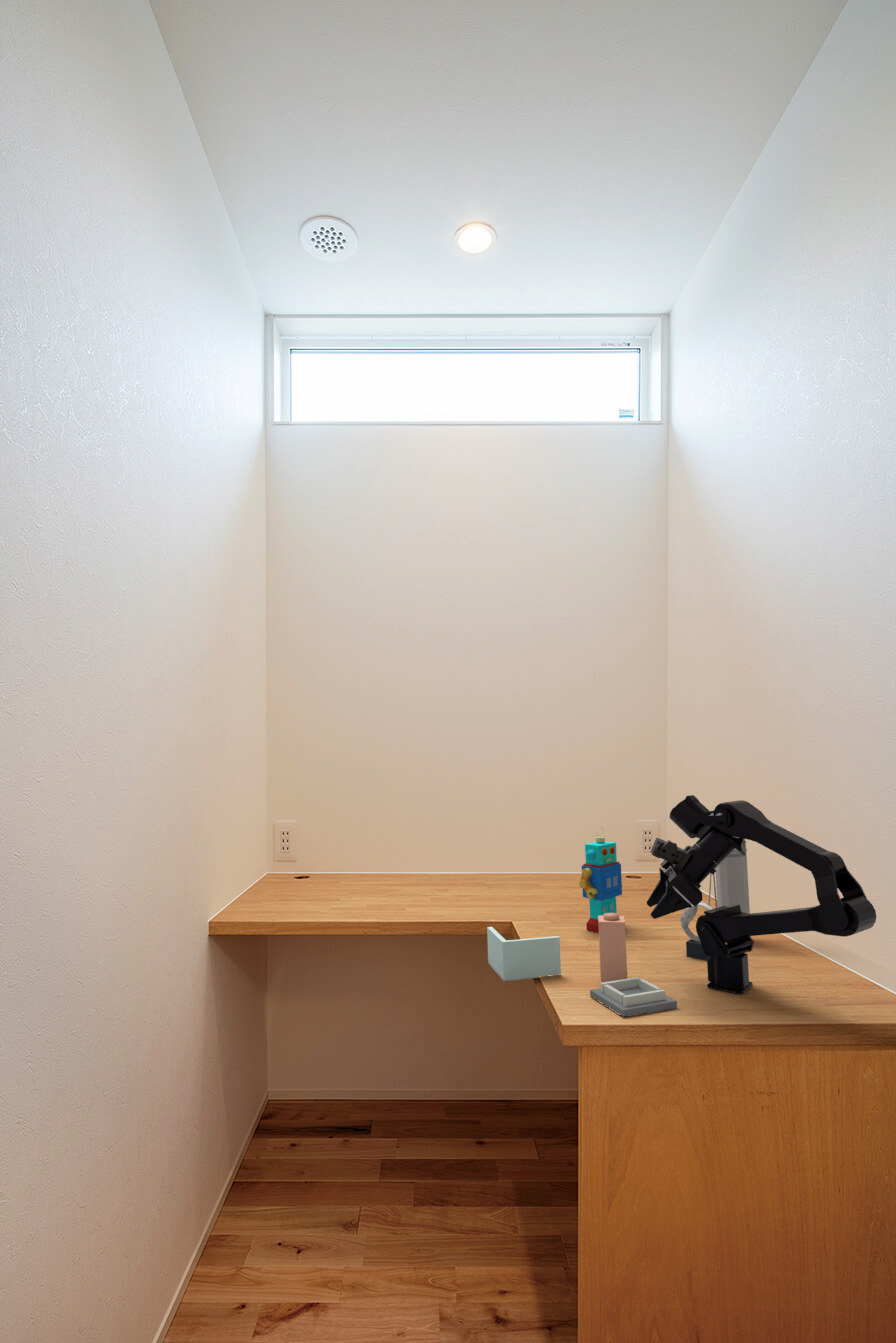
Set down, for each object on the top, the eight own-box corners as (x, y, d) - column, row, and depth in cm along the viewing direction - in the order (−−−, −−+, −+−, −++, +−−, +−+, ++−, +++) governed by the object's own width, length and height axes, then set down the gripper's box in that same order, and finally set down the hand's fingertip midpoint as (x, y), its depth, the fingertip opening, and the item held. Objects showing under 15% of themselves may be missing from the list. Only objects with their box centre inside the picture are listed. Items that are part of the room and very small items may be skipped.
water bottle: (755, 938, 173) (749, 829, 175) (747, 947, 167) (741, 833, 169) (715, 933, 179) (709, 827, 181) (705, 941, 172) (700, 831, 174)
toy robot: (600, 936, 179) (596, 829, 181) (580, 931, 183) (576, 827, 185) (629, 927, 186) (624, 824, 188) (609, 922, 191) (604, 823, 193)
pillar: (626, 977, 149) (623, 911, 150) (627, 986, 144) (624, 918, 145) (600, 977, 150) (598, 911, 151) (601, 985, 145) (598, 917, 146)
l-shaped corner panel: (561, 975, 151) (559, 937, 152) (503, 980, 149) (502, 942, 149) (541, 958, 163) (540, 922, 164) (488, 963, 161) (487, 927, 161)
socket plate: (641, 988, 143) (640, 973, 143) (677, 1008, 132) (676, 992, 132) (590, 996, 139) (589, 981, 139) (623, 1017, 128) (622, 1001, 129)
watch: (688, 949, 167) (686, 898, 168) (724, 955, 161) (721, 903, 162) (677, 955, 163) (675, 903, 163) (714, 961, 157) (711, 908, 158)
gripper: (669, 818, 156) (617, 871, 157) (681, 831, 138) (621, 891, 139) (710, 857, 154) (657, 910, 155) (728, 875, 136) (667, 936, 137)
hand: (650, 910), depth 146 cm, fingers open, 9 cm apart
